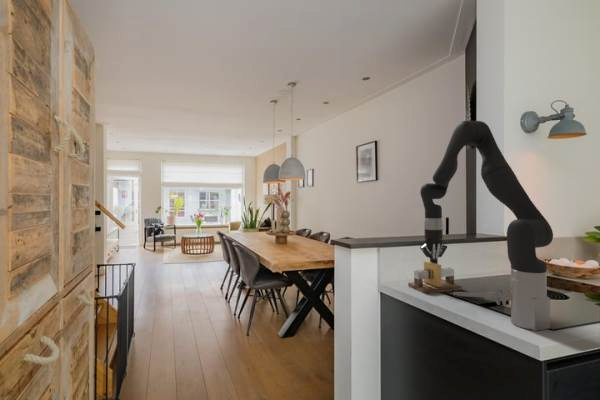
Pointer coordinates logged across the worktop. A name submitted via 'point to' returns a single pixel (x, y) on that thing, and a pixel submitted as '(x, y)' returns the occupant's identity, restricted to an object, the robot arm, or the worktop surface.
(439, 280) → the tan flat square slab
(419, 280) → the pipe board
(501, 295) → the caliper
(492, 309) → the worktop surface
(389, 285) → the worktop surface
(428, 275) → the pipe
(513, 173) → the robot arm
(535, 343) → the worktop surface
